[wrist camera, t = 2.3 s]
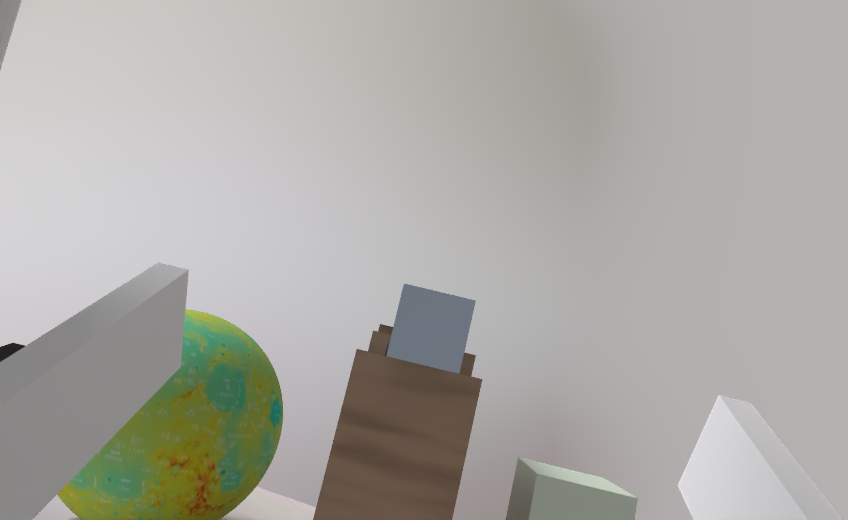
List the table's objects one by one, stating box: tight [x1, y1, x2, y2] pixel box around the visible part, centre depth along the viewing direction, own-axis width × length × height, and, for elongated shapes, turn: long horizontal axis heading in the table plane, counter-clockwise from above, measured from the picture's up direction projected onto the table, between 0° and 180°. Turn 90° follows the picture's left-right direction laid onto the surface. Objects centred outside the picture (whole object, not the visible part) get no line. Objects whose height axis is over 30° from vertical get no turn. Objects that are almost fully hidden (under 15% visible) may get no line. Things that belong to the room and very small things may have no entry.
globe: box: [57, 309, 283, 520], centre depth 80 cm, size 30×30×30 cm
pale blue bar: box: [386, 284, 475, 373], centre depth 45 cm, size 28×4×4 cm, turn 2°
